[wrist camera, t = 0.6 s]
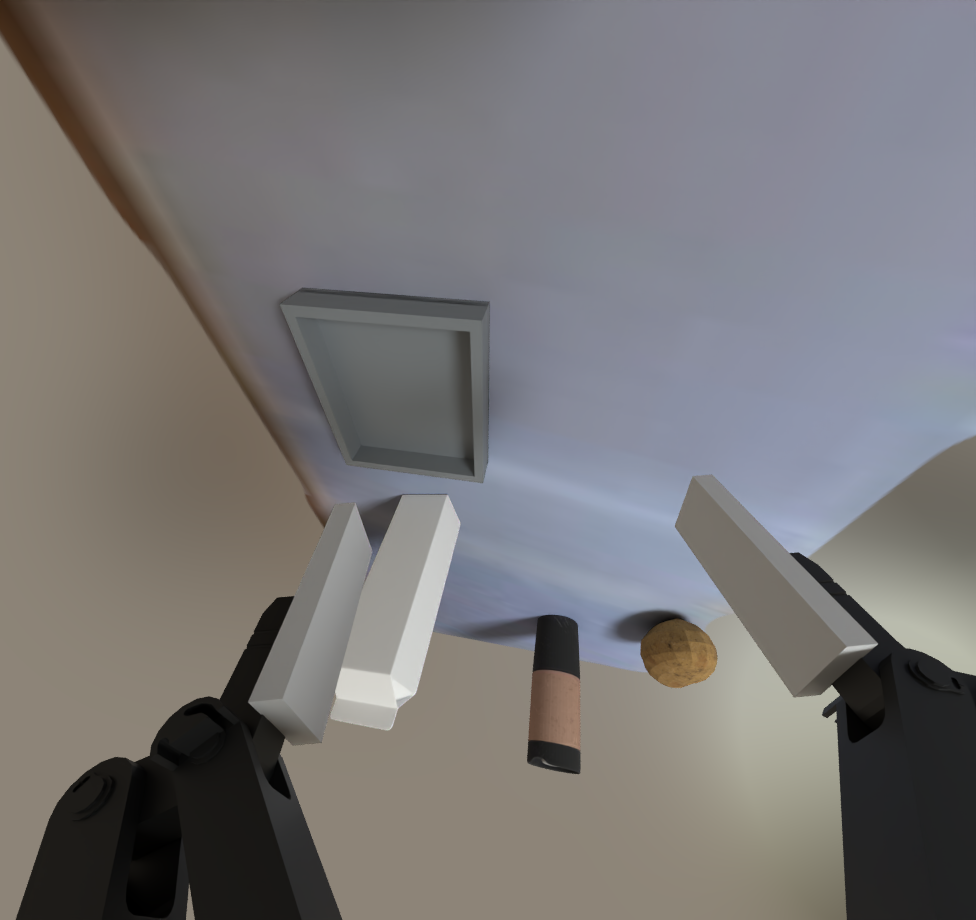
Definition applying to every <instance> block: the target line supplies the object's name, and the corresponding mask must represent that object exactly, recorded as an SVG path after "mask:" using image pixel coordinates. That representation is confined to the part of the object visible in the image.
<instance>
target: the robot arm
mask: <svg viewBox="0 0 976 920" xmlns="http://www.w3.org/2000/svg"><path fill="white" fill-rule="evenodd" d="M675 527H676V529H677V530H678V532H679V533H680V535H681V536H682V538H683V539H684V540H685V542H686V543H687V545H688V546H689V548H690V549H691V550H692V552H693V553H694V555H695V556H696V558H697V559H698V560H699V562H700V563H701V565H702V566H703V568H704V569H705V571H706V572H707V573H708V575H709V576H710V578H711V579H712V581H713V582H714V583H715V585H716V586H717V588H718V589H719V591H720V592H721V593H722V595H723V596H724V598H725V599H726V601H727V602H728V604H729V605H730V606H731V608H732V609H733V611H734V612H735V614H736V615H737V616H738V618H739V619H740V621H741V622H742V623H743V625H744V626H745V628H746V629H747V631H748V632H749V634H750V635H751V636H752V638H753V639H754V641H755V642H756V644H757V645H758V647H759V648H760V649H761V651H762V652H763V654H764V655H765V657H766V658H767V659H768V661H769V662H770V664H771V665H772V667H773V668H774V669H775V671H776V672H777V674H778V675H779V677H780V678H781V680H782V681H783V682H784V684H785V685H786V687H787V688H788V690H789V691H790V692H791V694H792V695H793V697H803V696H813V695H821V694H822V693H823V692H824V691H825V690H826V689H827V688H829V687H830V686H831V685H833V686H834V688H835V689H836V690H837V692H838V693H839V694H840V696H839V697H838V698H837V699H835V700H834V701H833V702H832V703H830V704H829V705H828V706H827V707H825V708H824V710H823V714H822V715H823V716H824V717H826V718H828V717H829V716H830V715H832V714H833V713H834V712H837V719H836V720H835V722H836V723H837V732H838V752H839V772H840V792H841V811H842V831H843V850H844V851H843V852H844V872H845V891H846V911H847V920H976V676H974V675H969V674H965V673H960V672H955V671H952V670H951V669H950V668H948V667H947V666H946V665H944V664H943V663H942V662H940V661H939V660H937V659H935V658H933V657H931V656H929V655H927V654H925V653H923V652H919V651H916V650H912V649H906V648H904V647H903V646H902V645H901V644H900V643H899V642H897V641H896V640H895V639H894V638H893V637H892V636H891V635H890V634H889V633H888V632H887V631H886V630H885V629H884V628H883V627H882V626H881V625H880V624H878V622H877V621H876V620H874V618H872V617H871V616H870V615H869V614H868V613H867V612H866V611H865V610H864V609H863V608H862V607H861V606H860V605H859V604H858V603H857V602H856V601H855V600H854V599H853V598H852V597H851V596H850V595H847V594H846V591H845V590H844V589H842V588H841V587H840V586H839V585H838V584H837V583H834V582H833V579H832V578H831V577H830V576H829V575H828V574H827V573H826V572H825V571H824V570H823V569H822V568H821V567H820V566H819V565H817V564H816V563H814V562H813V561H811V560H809V559H808V558H806V557H805V556H803V555H802V554H800V553H799V552H798V553H789V552H788V551H787V550H786V549H785V548H784V547H783V546H782V545H781V544H780V543H779V542H778V541H777V540H776V539H775V538H774V537H773V536H772V535H771V534H770V533H769V532H768V531H767V530H766V529H765V528H764V527H763V526H762V525H761V524H760V523H759V522H758V521H757V520H756V519H755V518H754V517H753V516H752V515H751V514H750V513H749V512H748V511H747V510H746V509H745V508H744V507H743V506H742V505H741V504H740V503H739V502H738V501H737V500H736V499H735V498H734V497H733V496H732V495H731V493H730V492H729V491H728V490H727V489H726V488H725V487H724V486H723V485H722V484H721V483H720V482H719V481H718V480H717V479H716V478H715V477H714V476H713V475H701V476H693V477H692V480H691V482H690V485H689V488H688V491H687V494H686V496H685V499H684V502H683V505H682V507H681V510H680V513H679V516H678V518H677V521H676V524H675ZM371 554H372V549H371V546H370V543H369V540H368V537H367V535H366V532H365V529H364V526H363V523H362V520H361V517H360V515H359V512H358V509H357V506H356V503H345V504H335V505H334V508H333V510H332V512H331V515H330V517H329V519H328V521H327V524H326V526H325V528H324V530H323V533H322V535H321V537H320V540H319V542H318V544H317V546H316V549H315V551H314V553H313V556H312V558H311V560H310V563H309V565H308V567H307V569H306V572H305V574H304V576H303V578H302V581H301V583H300V585H299V588H298V590H297V592H296V594H295V596H291V597H279V598H276V599H275V601H274V602H273V603H272V604H271V605H270V606H269V607H268V608H267V609H266V611H265V612H264V613H263V614H262V616H261V618H260V620H259V622H258V625H257V626H256V628H255V630H254V634H253V635H252V636H251V638H250V640H249V642H248V644H247V649H245V650H244V652H243V654H242V656H241V658H240V660H239V662H238V664H237V666H236V668H235V670H234V672H233V674H232V676H231V678H230V680H229V682H228V684H227V686H226V688H225V690H224V692H223V694H222V696H221V698H220V700H219V699H217V698H213V697H204V698H199V699H196V700H194V701H192V702H190V703H188V704H186V705H184V706H183V707H181V708H180V709H179V710H178V711H177V712H175V713H174V714H173V715H172V716H171V717H170V718H169V719H168V720H167V721H166V723H165V724H164V725H163V726H162V728H161V729H160V730H159V731H158V733H157V735H156V737H155V739H154V741H153V743H152V745H151V752H150V756H148V757H145V758H143V759H141V760H138V761H136V762H133V761H131V760H129V759H127V758H120V757H114V758H111V759H108V760H106V761H103V762H101V763H99V764H98V765H96V766H94V767H93V768H92V769H90V770H88V771H87V772H85V773H84V774H83V775H82V776H81V777H80V778H79V779H78V780H77V781H76V782H75V783H73V784H72V785H71V786H70V788H69V789H68V790H67V791H66V793H65V794H64V795H63V796H62V798H61V799H60V800H59V802H58V803H57V805H56V807H55V809H54V811H53V813H52V815H51V817H50V819H49V821H48V825H47V827H46V831H45V834H44V837H43V839H42V842H41V845H40V848H39V851H38V855H37V857H36V860H35V863H34V866H33V870H32V872H31V876H30V879H29V882H28V884H27V888H26V890H25V894H24V896H23V900H22V902H21V906H20V909H19V912H18V914H17V918H16V920H186V911H187V900H188V888H189V884H190V890H191V897H192V904H193V910H194V916H195V920H342V918H341V915H340V912H339V909H338V907H337V904H336V901H335V899H334V896H333V893H332V890H331V888H330V886H329V883H328V880H327V877H326V874H325V872H324V869H323V866H322V863H321V861H320V858H319V856H318V853H317V850H316V847H315V845H314V842H313V839H312V837H311V834H310V831H309V828H308V826H307V823H306V821H305V818H304V815H303V812H302V809H301V807H300V804H299V801H298V799H297V796H296V793H295V790H294V788H293V785H292V782H291V780H290V777H289V774H288V772H287V769H286V766H285V764H284V761H283V758H282V757H281V755H280V751H281V748H282V745H283V742H284V739H285V738H286V739H287V740H288V741H289V742H290V743H291V744H292V745H304V744H314V743H322V739H323V735H324V731H325V728H326V724H327V720H328V716H329V712H330V709H331V705H332V701H333V697H334V694H335V690H336V686H337V682H338V679H339V675H340V671H341V667H342V664H343V660H344V656H345V652H346V649H347V645H348V641H349V637H350V633H351V630H352V626H353V622H354V618H355V615H356V611H357V607H358V603H359V600H360V596H361V592H362V588H363V584H364V581H365V577H366V573H367V569H368V566H369V562H370V558H371Z"/></svg>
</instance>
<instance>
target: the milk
mask: <svg viewBox="0 0 976 920" xmlns="http://www.w3.org/2000/svg"><path fill="white" fill-rule="evenodd" d="M460 524H461V523H460V521H459V519H458V516H457V514H456V512H455V510H454V508H453V505H452V503H451V501H450V499H449V497H448V495H402V497H401V500H400V502H399V504H398V507H397V509H396V511H395V514H394V516H393V518H392V521H391V523H390V525H389V528H388V530H387V532H386V535H385V537H384V539H383V542H382V544H381V546H380V549H379V551H378V553H377V556H376V558H375V560H374V563H373V565H372V567H371V570H370V572H369V574H368V576H367V579H366V581H365V583H364V586H363V588H362V592H361V596H360V600H359V603H358V607H357V611H356V615H355V618H354V622H353V626H352V630H351V633H350V637H349V641H348V645H347V649H346V652H345V656H344V660H343V664H342V667H341V671H340V675H339V679H338V682H337V686H336V690H335V693H336V697H337V698H336V701H335V703H334V706H333V709H332V711H331V714H330V718H331V719H333V720H337V721H342V722H347V723H352V724H357V725H363V726H367V727H372V728H378V729H383V730H390V729H391V728H392V726H393V723H394V720H395V716H396V713H397V710H398V708H399V707H401V706H402V705H403V704H404V703H405V702H406V701H408V700H409V699H410V698H411V697H413V696H414V695H415V694H416V692H417V688H418V684H419V680H420V677H421V673H422V669H423V665H424V661H425V657H426V654H427V650H428V646H429V642H430V638H431V635H432V631H433V627H434V623H435V620H436V616H437V612H438V608H439V604H440V601H441V597H442V593H443V589H444V585H445V582H446V578H447V574H448V570H449V566H450V563H451V559H452V555H453V551H454V547H455V544H456V540H457V536H458V532H459V528H460Z"/></svg>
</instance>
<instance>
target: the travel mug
mask: <svg viewBox="0 0 976 920" xmlns="http://www.w3.org/2000/svg"><path fill="white" fill-rule="evenodd" d="M528 741H529V742H528V755H527V762H528V763H529V764H531V765H534V766H538V767H541V768H545V769H550V770H554V771H559V772H566V773H572V774H580V667H579V642H578V625H577V623H576V622H575V621H574V620H572V619H570V618H567V617H564V616H558V615H546V616H542V617H540V618H539V619H538V623H537V632H536V642H535V653H534V664H533V674H532V690H531V707H530V722H529V739H528Z"/></svg>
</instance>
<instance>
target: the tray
mask: <svg viewBox="0 0 976 920" xmlns="http://www.w3.org/2000/svg"><path fill="white" fill-rule="evenodd" d="M280 307H281V309H282V311H283V314H284V316H285V318H286V321H287V323H288V326H289V328H290V330H291V333H292V335H293V338H294V340H295V342H296V345H297V347H298V350H299V352H300V354H301V357H302V359H303V362H304V364H305V366H306V369H307V371H308V374H309V376H310V378H311V381H312V383H313V386H314V388H315V390H316V393H317V395H318V398H319V400H320V402H321V405H322V407H323V410H324V412H325V414H326V417H327V419H328V422H329V424H330V426H331V429H332V431H333V434H334V436H335V438H336V441H337V443H338V446H339V448H340V450H341V453H342V455H343V458H344V460H345V462H346V465H350V466H358V467H365V468H373V469H380V470H388V471H395V472H403V473H410V474H418V475H425V476H433V477H440V478H448V479H455V480H463V481H470V482H478V483H483V481H484V477H485V472H486V468H487V464H488V424H489V323H490V302H484V301H471V300H457V299H444V298H431V297H417V296H404V295H391V294H377V293H364V292H351V291H337V290H324V289H311V288H302V289H301V290H299V291H298V292H296V293H295V294H294V295H292V296H291V297H289V298H288V299H286V300H285V301H284V302H282V303H281V304H280Z"/></svg>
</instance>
